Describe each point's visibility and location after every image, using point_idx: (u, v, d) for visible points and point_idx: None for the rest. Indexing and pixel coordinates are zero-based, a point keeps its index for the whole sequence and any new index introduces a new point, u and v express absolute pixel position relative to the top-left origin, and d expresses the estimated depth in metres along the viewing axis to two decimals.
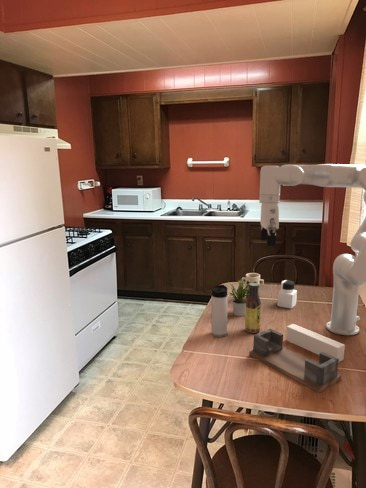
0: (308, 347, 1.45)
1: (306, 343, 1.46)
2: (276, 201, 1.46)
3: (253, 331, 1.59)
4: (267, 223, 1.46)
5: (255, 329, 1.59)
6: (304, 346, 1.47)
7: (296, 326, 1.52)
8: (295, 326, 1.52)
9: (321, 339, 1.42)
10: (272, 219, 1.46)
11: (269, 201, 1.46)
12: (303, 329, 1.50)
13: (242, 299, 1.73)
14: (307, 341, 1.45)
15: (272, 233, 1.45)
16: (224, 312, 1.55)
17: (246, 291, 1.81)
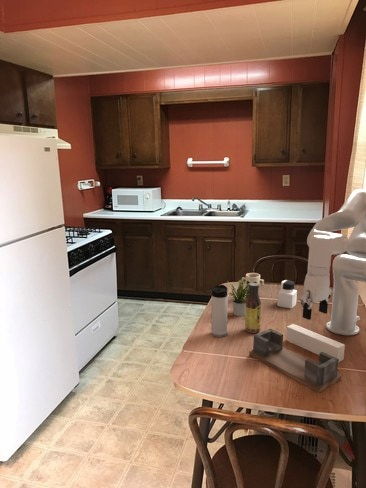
0: (308, 347, 1.45)
1: (306, 343, 1.46)
2: None
3: (253, 331, 1.59)
4: None
5: (255, 329, 1.59)
6: (304, 346, 1.47)
7: (296, 326, 1.52)
8: (295, 326, 1.52)
9: (321, 339, 1.42)
10: None
11: None
12: (303, 329, 1.50)
13: (242, 299, 1.73)
14: (307, 341, 1.45)
15: None
16: (224, 312, 1.55)
17: (246, 291, 1.81)
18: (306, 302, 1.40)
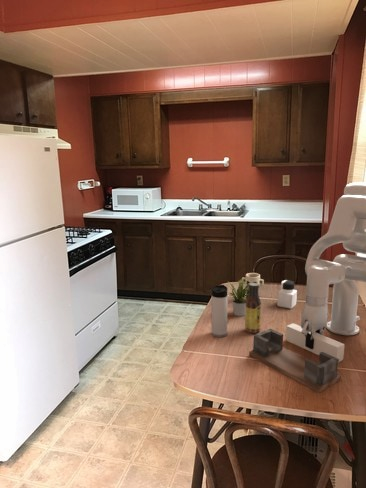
0: None
1: None
2: None
3: (253, 331, 1.59)
4: None
5: (255, 329, 1.59)
6: (304, 345, 1.47)
7: (296, 325, 1.52)
8: (295, 325, 1.52)
9: (321, 338, 1.42)
10: None
11: None
12: None
13: (242, 299, 1.73)
14: None
15: None
16: (224, 312, 1.55)
17: (246, 291, 1.81)
18: (307, 331, 1.44)
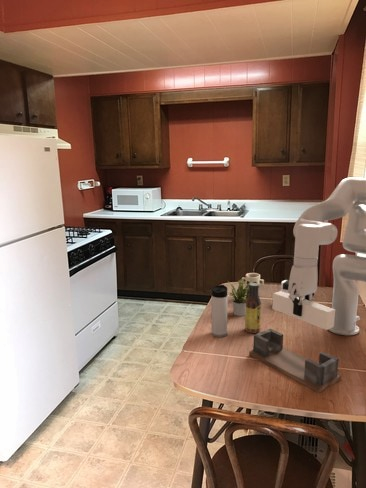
0: None
1: None
2: None
3: (253, 331, 1.59)
4: None
5: (255, 329, 1.59)
6: (291, 313, 1.35)
7: (283, 293, 1.40)
8: (282, 293, 1.40)
9: (310, 304, 1.30)
10: None
11: None
12: None
13: (242, 299, 1.73)
14: None
15: None
16: (224, 312, 1.55)
17: (246, 291, 1.81)
18: (295, 297, 1.32)
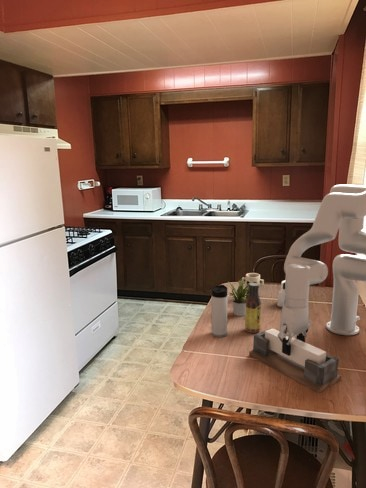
0: None
1: None
2: None
3: (253, 331, 1.59)
4: None
5: (255, 329, 1.59)
6: (283, 353, 1.35)
7: (275, 331, 1.40)
8: (274, 331, 1.40)
9: (301, 345, 1.29)
10: None
11: None
12: None
13: (242, 299, 1.73)
14: None
15: None
16: (224, 312, 1.55)
17: (246, 291, 1.81)
18: (285, 336, 1.31)
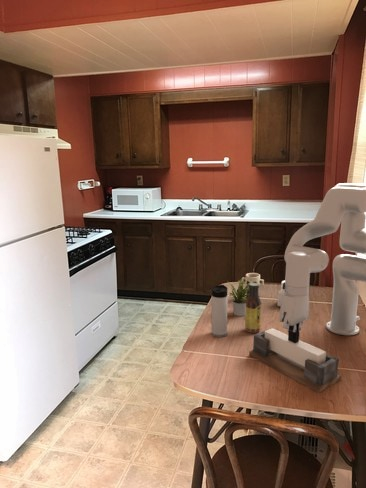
0: (287, 354, 1.33)
1: (285, 350, 1.34)
2: None
3: (253, 331, 1.59)
4: None
5: (255, 329, 1.59)
6: (283, 353, 1.35)
7: (275, 331, 1.40)
8: (274, 331, 1.40)
9: (301, 346, 1.29)
10: None
11: None
12: (282, 334, 1.38)
13: (242, 299, 1.73)
14: (286, 347, 1.33)
15: None
16: (224, 312, 1.55)
17: (246, 291, 1.81)
18: None
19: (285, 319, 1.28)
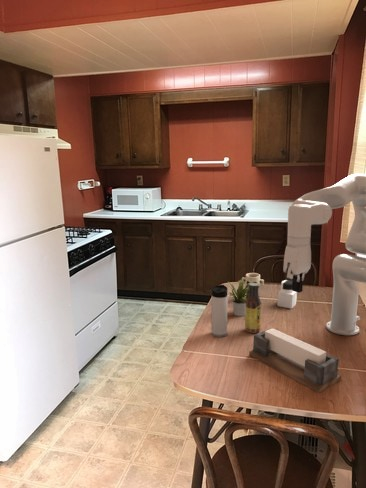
0: (288, 354, 1.33)
1: (285, 350, 1.34)
2: None
3: (253, 331, 1.59)
4: None
5: (255, 329, 1.59)
6: (283, 353, 1.35)
7: (275, 331, 1.40)
8: (274, 331, 1.40)
9: (301, 345, 1.29)
10: None
11: None
12: (282, 334, 1.38)
13: (242, 299, 1.73)
14: (286, 347, 1.33)
15: None
16: (224, 312, 1.55)
17: (246, 291, 1.81)
18: (293, 275, 1.37)
19: (289, 269, 1.34)
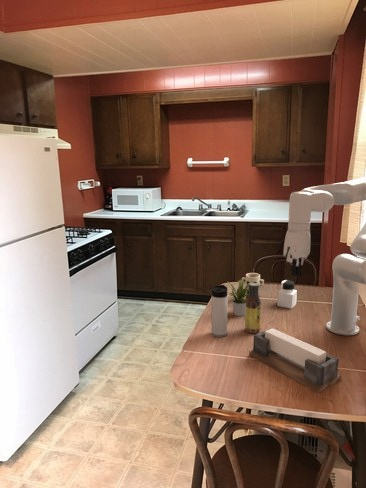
0: (288, 354, 1.33)
1: (285, 350, 1.34)
2: None
3: (253, 331, 1.59)
4: None
5: (255, 329, 1.59)
6: (283, 353, 1.35)
7: (275, 331, 1.40)
8: (274, 331, 1.40)
9: (301, 345, 1.29)
10: None
11: None
12: (282, 334, 1.38)
13: (242, 299, 1.73)
14: (286, 347, 1.33)
15: None
16: (224, 312, 1.55)
17: (246, 291, 1.81)
18: None
19: (289, 253, 1.41)
